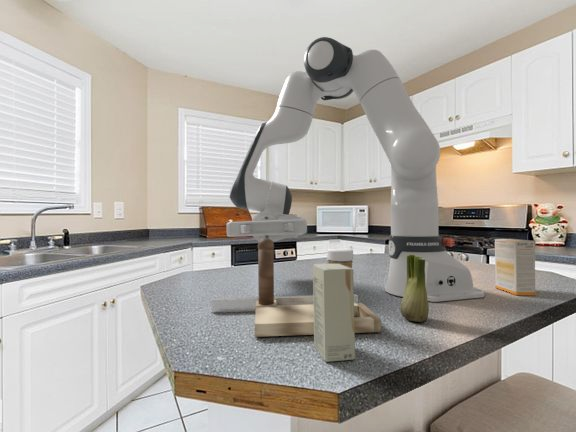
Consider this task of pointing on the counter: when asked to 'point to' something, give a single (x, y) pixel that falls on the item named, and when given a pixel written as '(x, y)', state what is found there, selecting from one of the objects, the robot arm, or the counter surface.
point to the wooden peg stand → (293, 317)
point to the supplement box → (515, 266)
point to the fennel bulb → (415, 291)
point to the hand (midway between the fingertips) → (267, 228)
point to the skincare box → (334, 311)
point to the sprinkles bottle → (340, 256)
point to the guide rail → (250, 302)
